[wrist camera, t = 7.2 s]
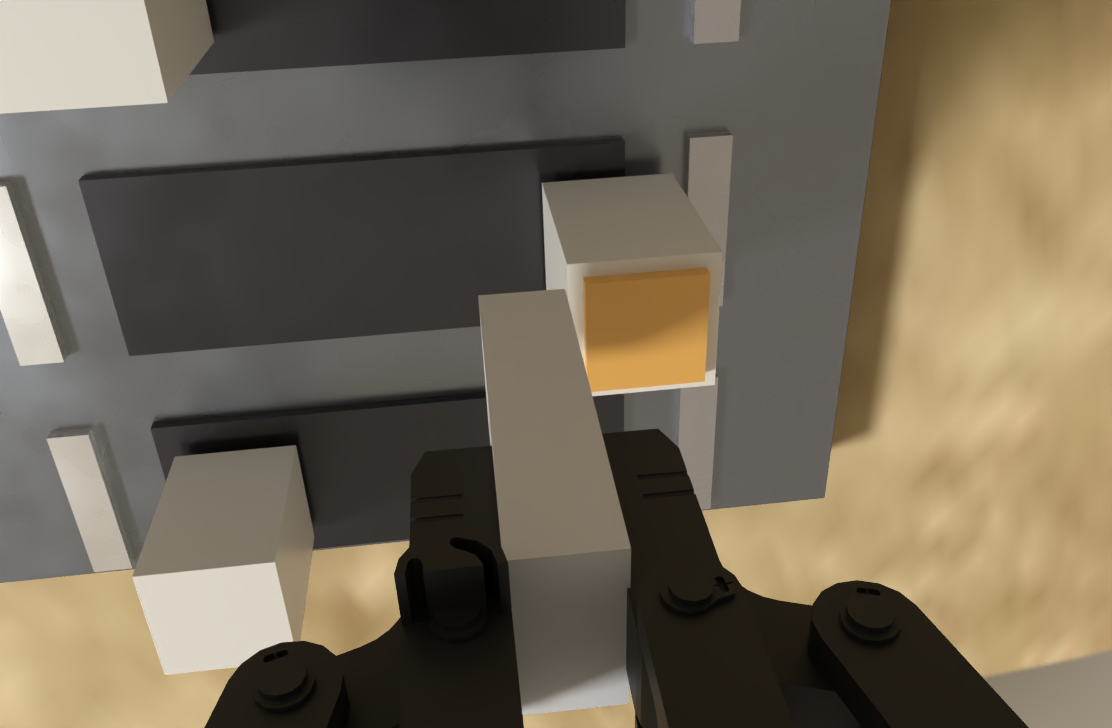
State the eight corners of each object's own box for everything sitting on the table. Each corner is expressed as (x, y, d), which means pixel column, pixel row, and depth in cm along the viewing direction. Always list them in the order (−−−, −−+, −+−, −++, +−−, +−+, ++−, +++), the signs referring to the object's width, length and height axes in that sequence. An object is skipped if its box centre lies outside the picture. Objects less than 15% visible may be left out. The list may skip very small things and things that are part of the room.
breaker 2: (174, 456, 25) (132, 576, 21) (296, 445, 25) (274, 562, 22) (200, 547, 27) (165, 675, 23) (314, 535, 27) (297, 660, 23)
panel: (-301, -169, 20) (-382, -162, 18) (879, -215, 22) (927, -214, 20) (-7, 537, 29) (-38, 594, 27) (802, 457, 31) (828, 504, 29)
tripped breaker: (541, 182, 23) (569, 271, 19) (671, 173, 23) (726, 258, 19) (546, 301, 24) (572, 406, 20) (669, 290, 24) (718, 392, 20)
